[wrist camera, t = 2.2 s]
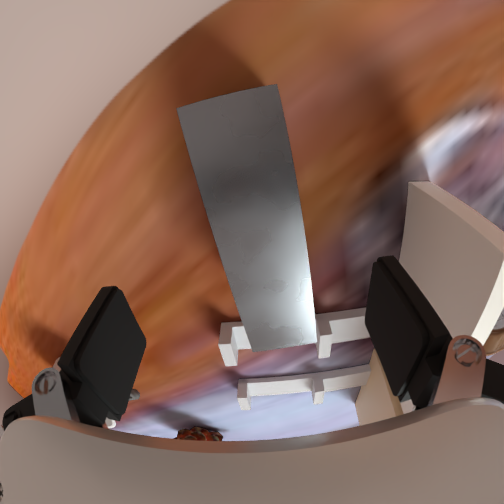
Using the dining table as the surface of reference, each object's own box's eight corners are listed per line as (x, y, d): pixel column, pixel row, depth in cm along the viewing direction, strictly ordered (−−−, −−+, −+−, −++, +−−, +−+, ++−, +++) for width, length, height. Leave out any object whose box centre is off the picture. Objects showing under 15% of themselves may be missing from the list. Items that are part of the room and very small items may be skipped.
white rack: (435, 181, 16) (542, 260, 6) (374, 399, 31) (391, 466, 21) (190, 200, 17) (121, 318, 8) (250, 415, 32) (248, 487, 23)
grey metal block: (269, 92, 14) (276, 84, 9) (304, 283, 21) (316, 342, 16) (204, 107, 14) (176, 108, 9) (253, 292, 21) (252, 352, 16)
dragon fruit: (182, 406, 35) (229, 425, 41) (150, 438, 33) (200, 452, 39) (208, 446, 28) (256, 456, 34) (170, 478, 26) (222, 484, 32)
